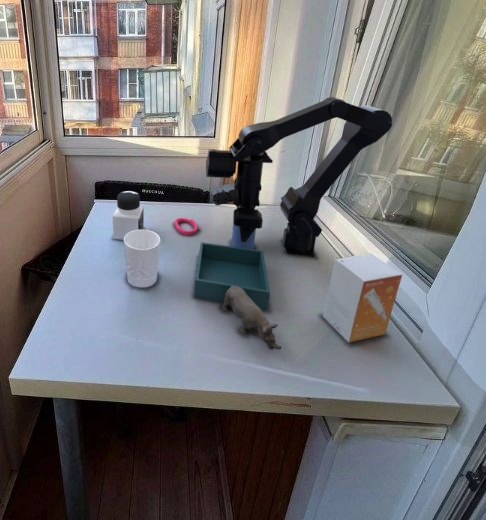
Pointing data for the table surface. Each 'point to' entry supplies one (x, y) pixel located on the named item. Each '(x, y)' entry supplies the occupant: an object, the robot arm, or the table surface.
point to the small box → (361, 296)
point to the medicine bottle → (127, 214)
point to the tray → (231, 273)
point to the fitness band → (188, 222)
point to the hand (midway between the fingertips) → (242, 234)
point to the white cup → (142, 257)
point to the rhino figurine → (250, 315)
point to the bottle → (237, 238)
